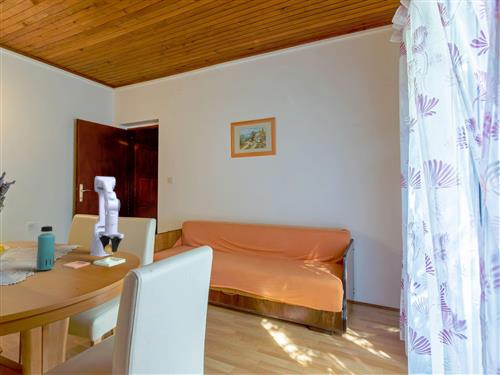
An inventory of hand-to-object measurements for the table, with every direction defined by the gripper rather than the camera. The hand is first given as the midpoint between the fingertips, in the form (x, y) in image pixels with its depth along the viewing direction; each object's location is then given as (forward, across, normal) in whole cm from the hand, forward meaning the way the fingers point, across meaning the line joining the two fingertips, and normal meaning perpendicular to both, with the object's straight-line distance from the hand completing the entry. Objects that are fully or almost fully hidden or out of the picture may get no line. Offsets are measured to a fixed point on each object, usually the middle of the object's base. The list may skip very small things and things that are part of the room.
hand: (110, 251), depth 136 cm
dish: (+6, -10, -10) cm, 15 cm away
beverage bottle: (+6, -15, -21) cm, 27 cm away
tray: (+6, 0, 0) cm, 6 cm away
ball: (+2, 0, 0) cm, 2 cm away
